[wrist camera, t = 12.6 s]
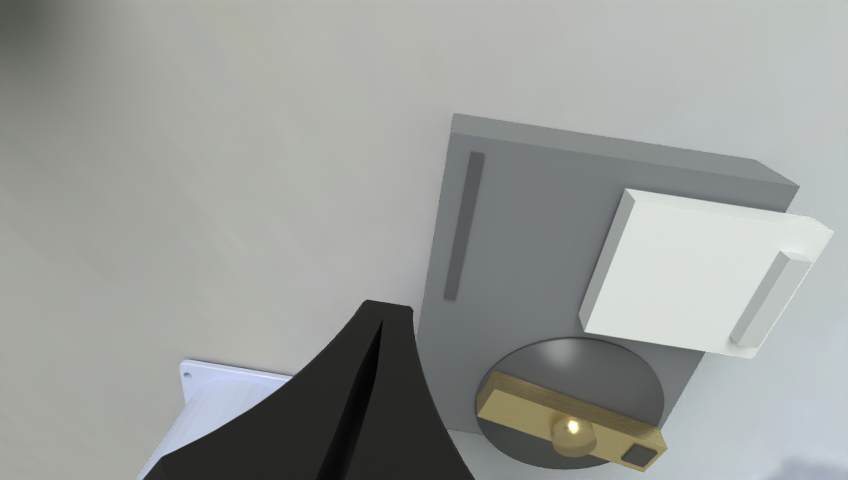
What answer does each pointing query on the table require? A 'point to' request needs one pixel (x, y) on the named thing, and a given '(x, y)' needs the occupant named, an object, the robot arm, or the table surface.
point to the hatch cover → (698, 272)
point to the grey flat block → (553, 271)
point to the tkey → (569, 422)
